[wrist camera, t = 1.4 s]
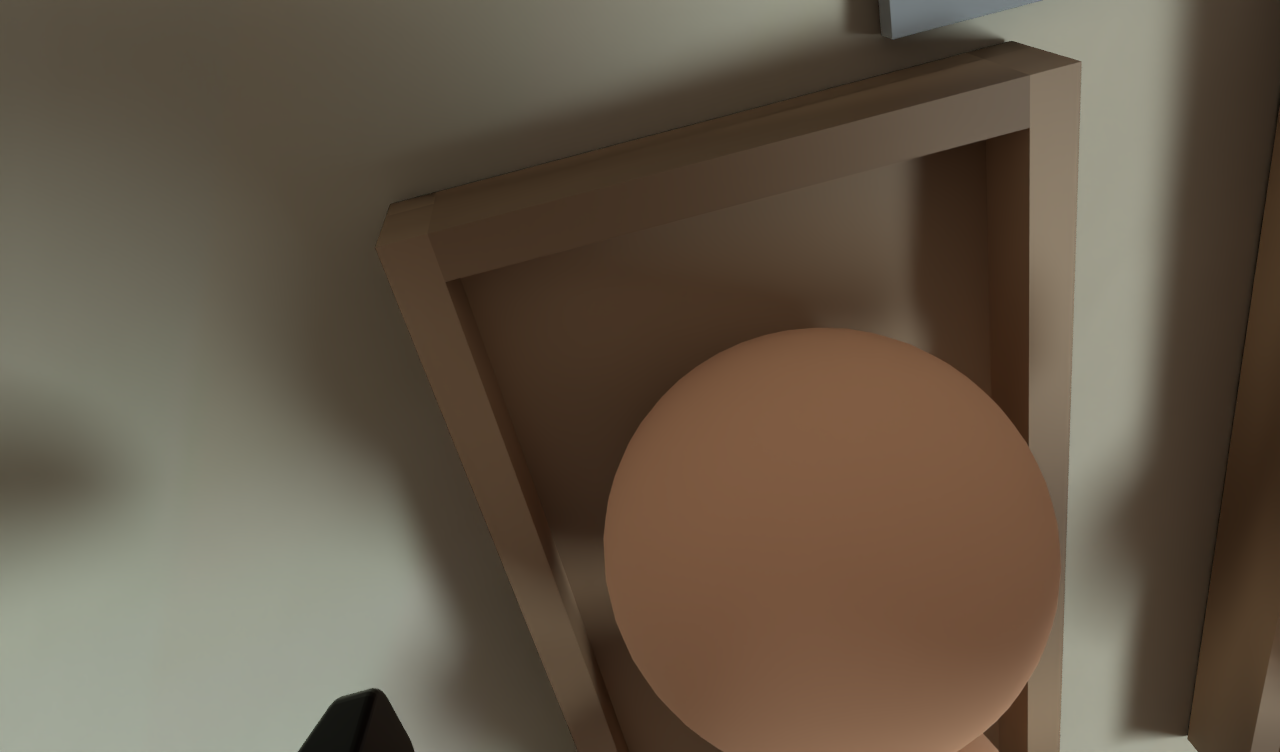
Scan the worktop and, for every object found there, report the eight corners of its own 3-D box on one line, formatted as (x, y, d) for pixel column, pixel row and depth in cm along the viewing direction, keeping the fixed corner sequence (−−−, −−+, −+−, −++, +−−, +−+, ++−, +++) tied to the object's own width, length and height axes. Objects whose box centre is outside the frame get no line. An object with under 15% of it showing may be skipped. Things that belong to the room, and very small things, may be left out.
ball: (944, 518, 12) (1151, 814, 8) (630, 603, 12) (693, 939, 8) (926, 217, 10) (1199, 427, 6) (542, 319, 10) (569, 597, 6)
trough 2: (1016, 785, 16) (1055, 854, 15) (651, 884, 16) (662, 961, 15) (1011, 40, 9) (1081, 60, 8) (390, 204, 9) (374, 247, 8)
